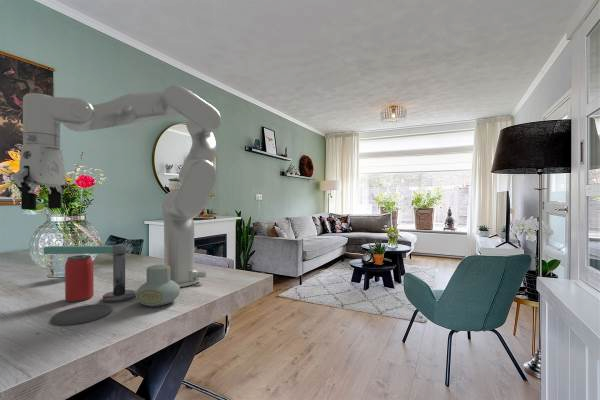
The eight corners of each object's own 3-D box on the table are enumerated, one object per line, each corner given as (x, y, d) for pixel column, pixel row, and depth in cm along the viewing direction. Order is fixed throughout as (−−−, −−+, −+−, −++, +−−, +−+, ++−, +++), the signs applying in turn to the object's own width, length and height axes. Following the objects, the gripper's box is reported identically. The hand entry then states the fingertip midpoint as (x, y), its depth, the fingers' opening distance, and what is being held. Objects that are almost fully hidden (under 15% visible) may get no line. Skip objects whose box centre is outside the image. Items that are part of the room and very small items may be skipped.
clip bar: (127, 252, 90) (127, 244, 90) (122, 254, 86) (122, 245, 86) (50, 253, 88) (50, 244, 88) (42, 255, 85) (42, 246, 85)
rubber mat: (120, 306, 81) (120, 303, 81) (92, 324, 69) (92, 322, 69) (73, 307, 81) (73, 304, 81) (37, 326, 69) (37, 323, 69)
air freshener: (130, 308, 80) (130, 269, 80) (148, 297, 88) (147, 263, 88) (170, 309, 79) (170, 270, 79) (184, 298, 88) (184, 263, 87)
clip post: (140, 293, 92) (140, 251, 92) (126, 302, 84) (126, 256, 84) (112, 293, 92) (112, 251, 92) (96, 302, 84) (96, 257, 84)
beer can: (99, 295, 90) (98, 254, 90) (80, 303, 84) (80, 259, 84) (78, 294, 91) (78, 254, 91) (58, 302, 84) (58, 258, 84)
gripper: (29, 136, 72) (30, 210, 73) (78, 148, 90) (79, 207, 90) (-4, 135, 72) (-4, 210, 72) (52, 148, 89) (52, 207, 90)
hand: (42, 208), depth 81 cm, fingers open, 8 cm apart
